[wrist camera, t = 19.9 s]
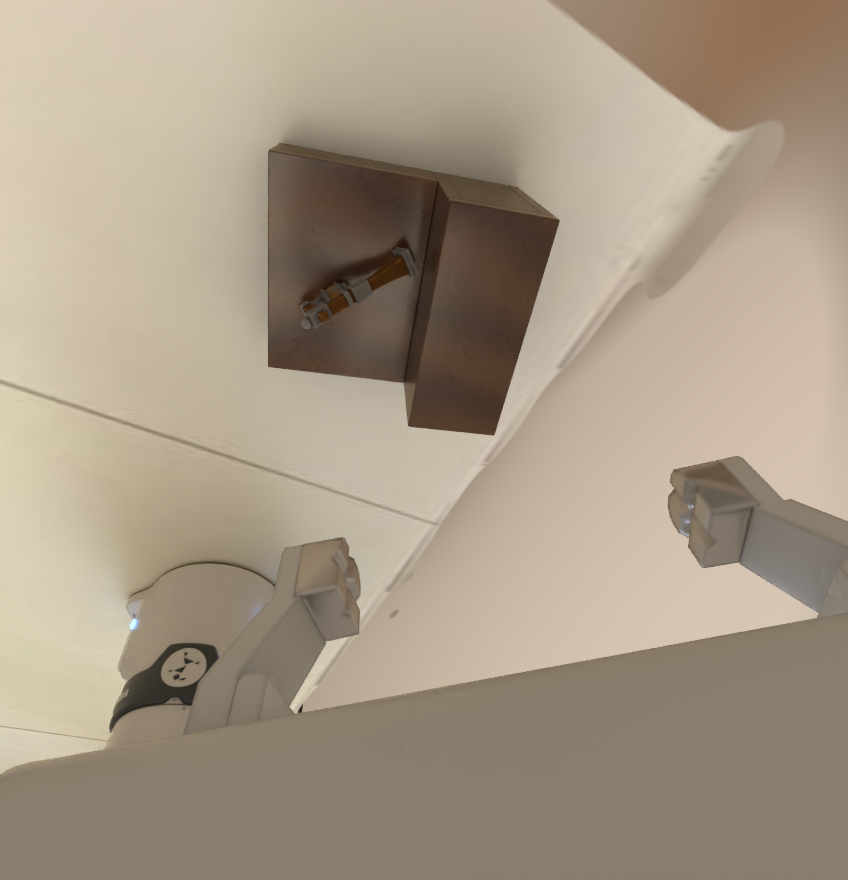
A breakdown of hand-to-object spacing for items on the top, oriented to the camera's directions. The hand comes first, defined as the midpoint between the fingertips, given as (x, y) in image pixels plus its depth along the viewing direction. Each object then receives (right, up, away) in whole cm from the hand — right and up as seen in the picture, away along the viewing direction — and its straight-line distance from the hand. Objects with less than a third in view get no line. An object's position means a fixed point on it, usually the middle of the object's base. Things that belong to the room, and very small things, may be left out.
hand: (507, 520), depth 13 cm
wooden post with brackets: (-6, +13, +22) cm, 26 cm away
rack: (-5, +14, +25) cm, 29 cm away
